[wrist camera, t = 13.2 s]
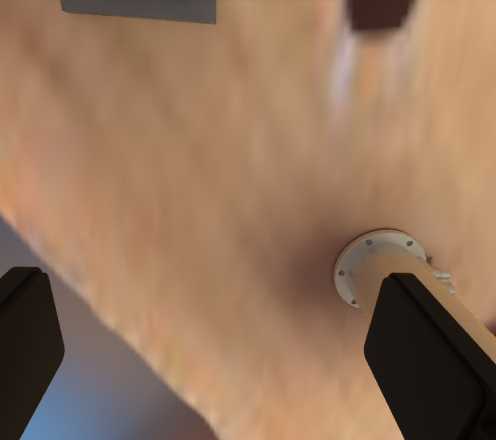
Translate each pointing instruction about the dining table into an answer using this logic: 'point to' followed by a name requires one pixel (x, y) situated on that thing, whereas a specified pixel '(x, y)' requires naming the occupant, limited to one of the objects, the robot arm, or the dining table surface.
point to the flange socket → (147, 9)
